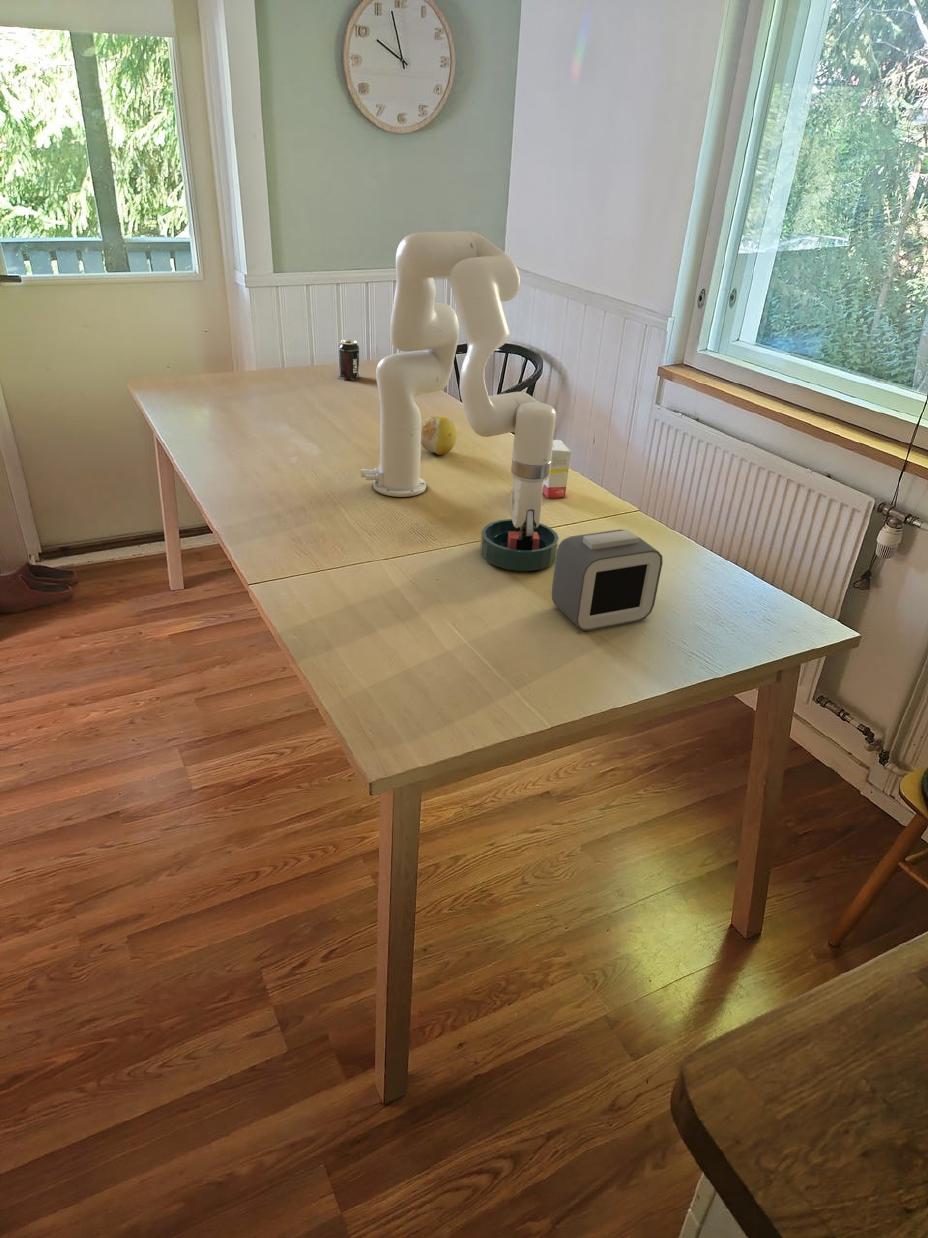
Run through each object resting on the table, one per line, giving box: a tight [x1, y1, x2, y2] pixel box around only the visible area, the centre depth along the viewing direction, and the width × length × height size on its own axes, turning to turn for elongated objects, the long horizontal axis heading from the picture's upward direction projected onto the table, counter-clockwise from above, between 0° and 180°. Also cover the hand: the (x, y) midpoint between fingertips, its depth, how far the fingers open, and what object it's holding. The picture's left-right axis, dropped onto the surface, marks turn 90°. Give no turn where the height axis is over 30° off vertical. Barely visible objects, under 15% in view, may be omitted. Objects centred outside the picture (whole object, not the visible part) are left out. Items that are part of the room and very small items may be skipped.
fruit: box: [421, 415, 458, 455], centre depth 221 cm, size 10×11×10 cm
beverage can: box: [337, 339, 360, 381], centre depth 279 cm, size 7×7×12 cm
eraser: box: [507, 531, 540, 550], centre depth 172 cm, size 6×3×4 cm, turn 94°
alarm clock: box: [550, 529, 663, 632], centre depth 152 cm, size 16×11×16 cm
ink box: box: [542, 439, 572, 499], centre depth 202 cm, size 9×5×12 cm, turn 12°
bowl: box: [479, 518, 560, 572], centre depth 172 cm, size 16×16×5 cm
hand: (521, 551), depth 173 cm, fingers closed on eraser, 3 cm apart
